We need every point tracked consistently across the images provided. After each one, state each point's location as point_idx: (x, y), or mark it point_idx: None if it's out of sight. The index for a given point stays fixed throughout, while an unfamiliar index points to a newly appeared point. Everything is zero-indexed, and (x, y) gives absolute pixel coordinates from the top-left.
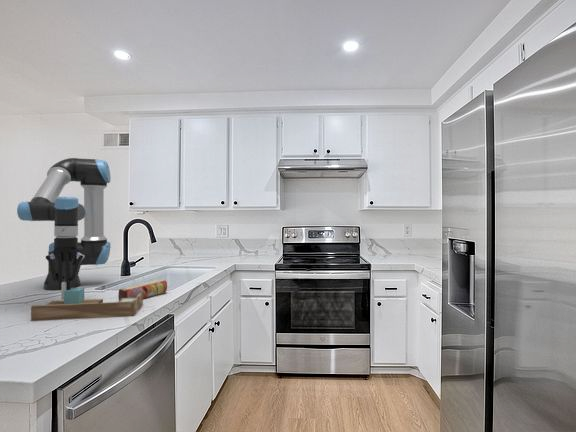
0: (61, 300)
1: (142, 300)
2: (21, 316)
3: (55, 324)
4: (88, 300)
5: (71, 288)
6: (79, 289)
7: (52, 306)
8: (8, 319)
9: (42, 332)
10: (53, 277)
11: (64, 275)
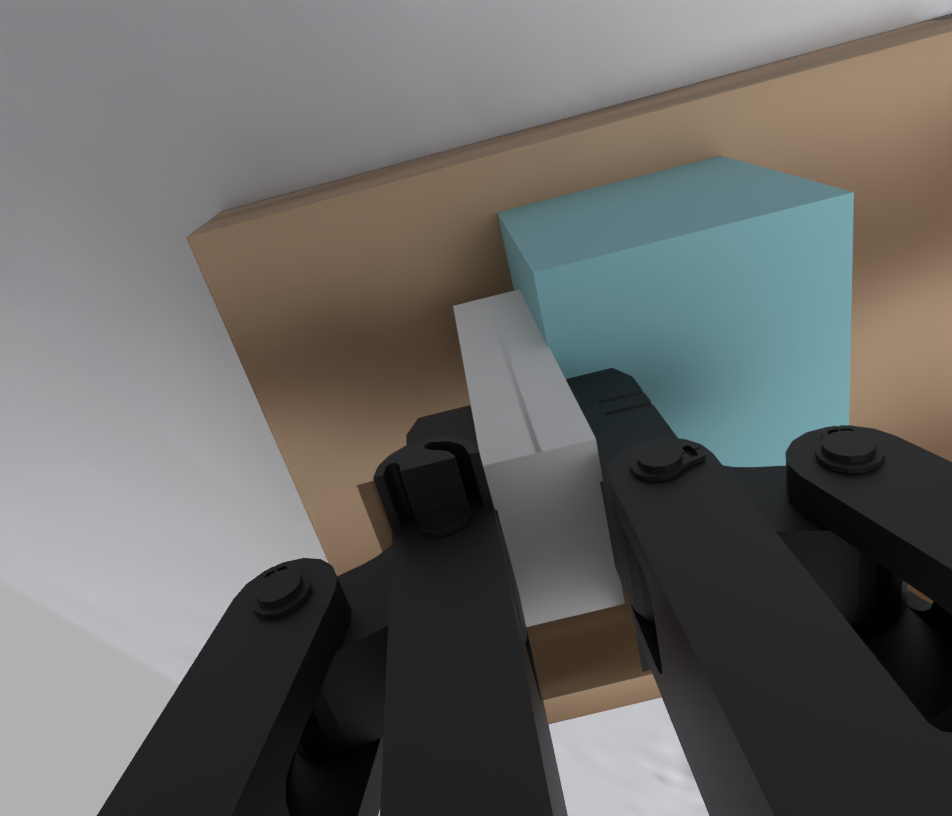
0: (331, 206)
1: None
2: (156, 540)
3: None
4: (799, 160)
5: (587, 307)
6: (815, 374)
7: (608, 700)
8: (126, 625)
9: (688, 791)
10: (309, 791)
11: (517, 623)
